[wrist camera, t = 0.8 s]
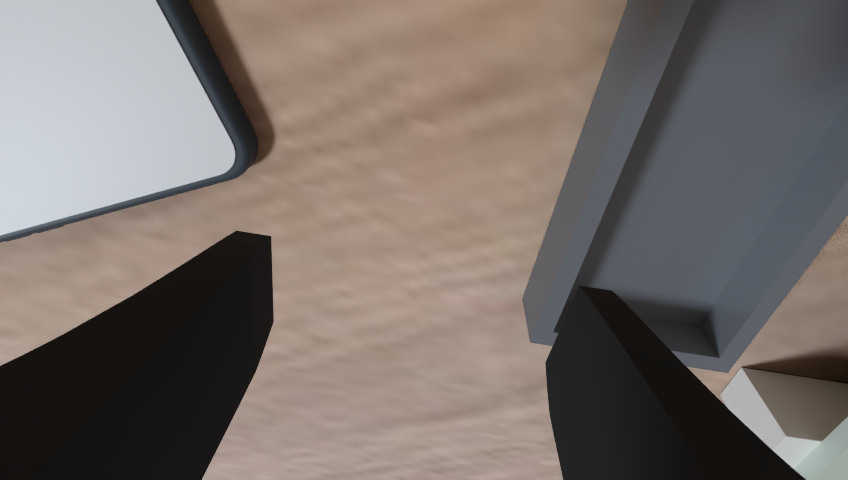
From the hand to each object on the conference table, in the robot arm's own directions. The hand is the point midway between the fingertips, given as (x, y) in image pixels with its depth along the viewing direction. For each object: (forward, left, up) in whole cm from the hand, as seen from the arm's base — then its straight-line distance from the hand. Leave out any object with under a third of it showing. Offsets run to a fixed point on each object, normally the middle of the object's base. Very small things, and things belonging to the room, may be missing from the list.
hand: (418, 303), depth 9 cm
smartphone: (-2, +15, -10) cm, 18 cm away
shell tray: (0, -9, -9) cm, 13 cm away
